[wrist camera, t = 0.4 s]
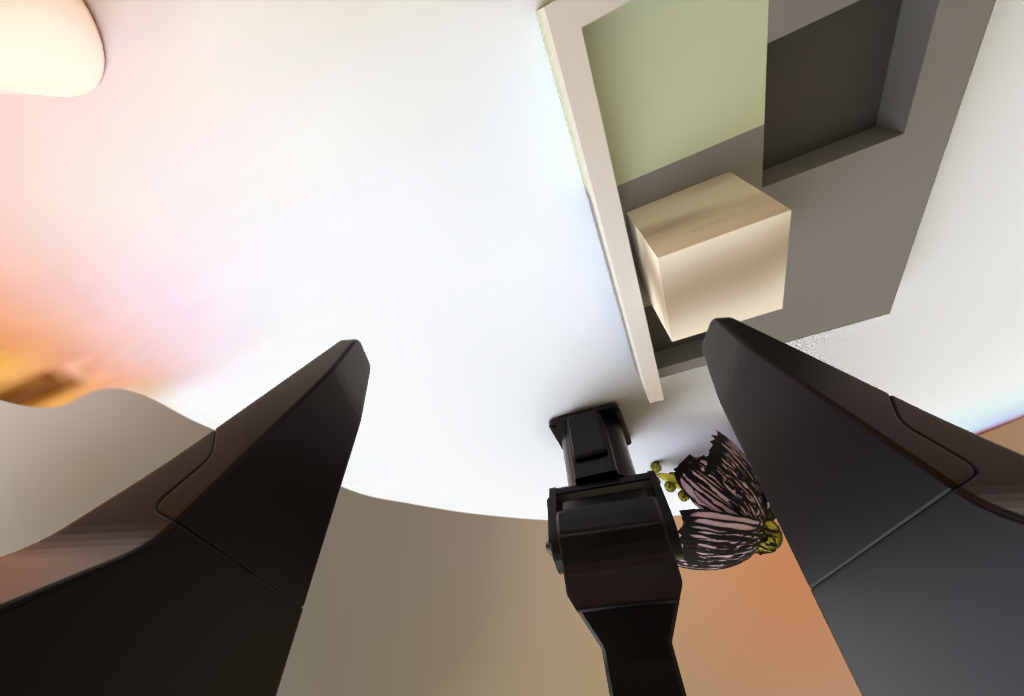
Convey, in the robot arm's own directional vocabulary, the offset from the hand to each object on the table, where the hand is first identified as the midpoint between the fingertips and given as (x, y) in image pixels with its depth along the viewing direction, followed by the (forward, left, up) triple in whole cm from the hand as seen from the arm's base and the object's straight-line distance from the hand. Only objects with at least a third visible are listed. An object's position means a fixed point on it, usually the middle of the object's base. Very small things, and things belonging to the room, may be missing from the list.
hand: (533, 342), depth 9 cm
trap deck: (-5, -11, -14) cm, 18 cm away
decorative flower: (-33, -7, -14) cm, 36 cm away
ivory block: (-6, -7, -12) cm, 15 cm away
